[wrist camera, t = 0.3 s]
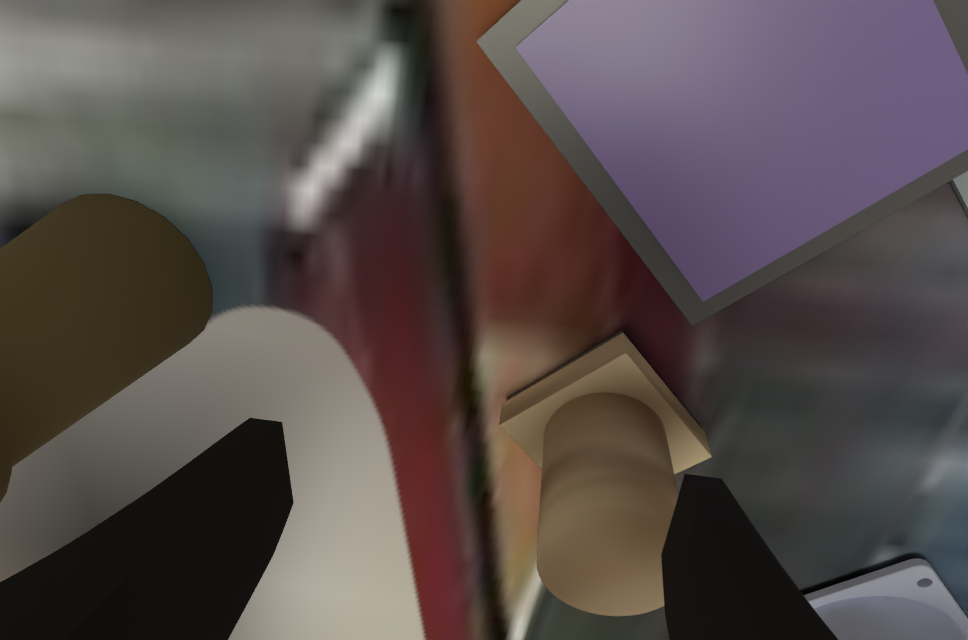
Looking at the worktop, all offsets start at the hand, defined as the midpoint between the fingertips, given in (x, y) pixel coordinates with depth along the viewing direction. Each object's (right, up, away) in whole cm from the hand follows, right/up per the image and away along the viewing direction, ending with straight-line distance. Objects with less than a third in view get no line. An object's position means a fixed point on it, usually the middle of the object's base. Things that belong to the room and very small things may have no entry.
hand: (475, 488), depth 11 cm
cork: (-12, +5, +10) cm, 17 cm away
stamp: (+4, 0, +11) cm, 12 cm away
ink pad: (+7, +9, +5) cm, 12 cm away
